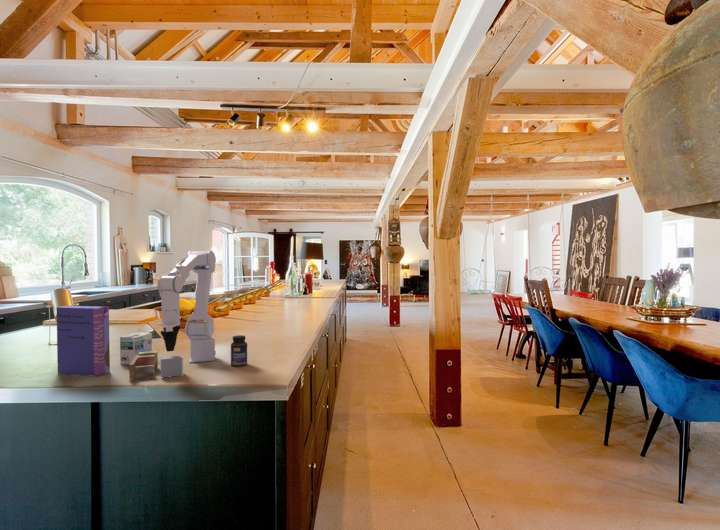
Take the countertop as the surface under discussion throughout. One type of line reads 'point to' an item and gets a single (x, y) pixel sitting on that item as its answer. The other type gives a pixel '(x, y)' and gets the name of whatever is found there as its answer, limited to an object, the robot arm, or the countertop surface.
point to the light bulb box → (134, 346)
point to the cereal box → (83, 340)
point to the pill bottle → (239, 351)
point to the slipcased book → (172, 366)
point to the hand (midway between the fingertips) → (171, 348)
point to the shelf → (143, 365)
